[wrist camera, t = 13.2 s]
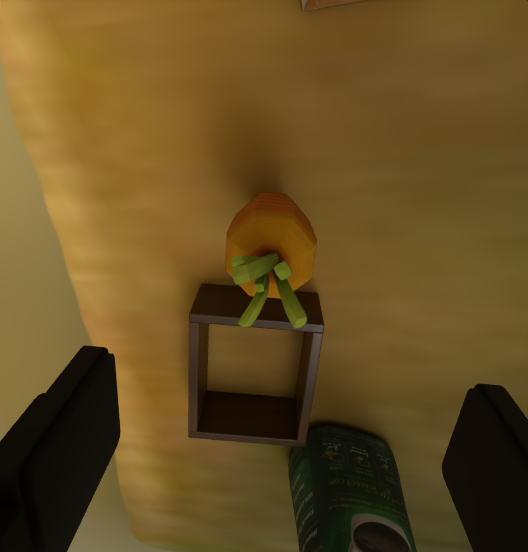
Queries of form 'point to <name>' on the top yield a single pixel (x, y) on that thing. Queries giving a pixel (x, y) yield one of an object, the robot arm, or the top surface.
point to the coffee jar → (348, 494)
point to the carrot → (271, 254)
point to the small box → (324, 3)
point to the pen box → (239, 407)
